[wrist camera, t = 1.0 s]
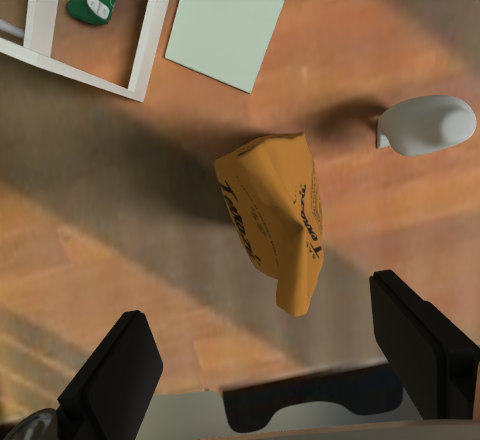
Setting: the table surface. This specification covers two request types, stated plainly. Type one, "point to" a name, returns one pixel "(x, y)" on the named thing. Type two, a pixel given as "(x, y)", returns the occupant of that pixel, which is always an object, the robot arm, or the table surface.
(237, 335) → the table surface
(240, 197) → the coffee package
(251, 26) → the mat
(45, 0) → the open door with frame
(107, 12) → the gaming controller
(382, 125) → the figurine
